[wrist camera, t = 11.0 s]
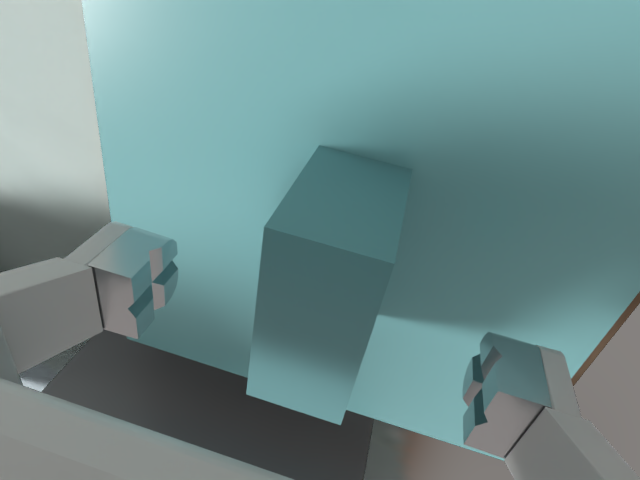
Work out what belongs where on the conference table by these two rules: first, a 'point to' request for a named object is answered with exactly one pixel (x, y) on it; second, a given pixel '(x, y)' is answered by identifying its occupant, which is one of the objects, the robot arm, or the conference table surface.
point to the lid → (375, 186)
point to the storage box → (210, 410)
